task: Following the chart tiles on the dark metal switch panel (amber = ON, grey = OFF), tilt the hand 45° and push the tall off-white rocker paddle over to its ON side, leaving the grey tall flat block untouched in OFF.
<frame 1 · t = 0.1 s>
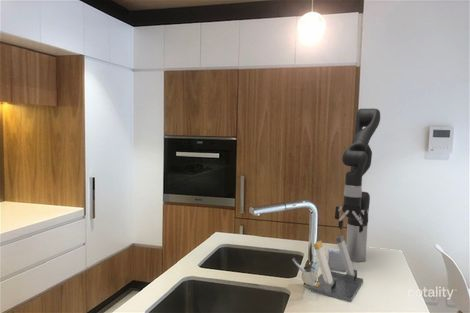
hand: (350, 230, 160), 17 cm above the worktop, tool pointing down, fingers open, 8 cm apart
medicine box: (336, 269, 160), on the worktop
white rocker: (324, 264, 138), point 10 cm above the worktop, hinge at -20.0°
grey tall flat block: (345, 257, 147), point 10 cm above the worktop, hinge at -20.0°
switch panel: (336, 286, 143), on the worktop
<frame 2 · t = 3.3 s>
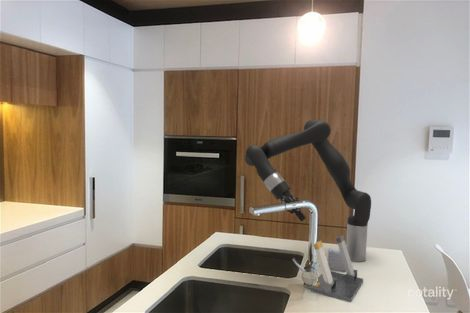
hand: (303, 219, 141), 27 cm above the worktop, tool tilted 45°, fingers closed
nothing on the worktop moved.
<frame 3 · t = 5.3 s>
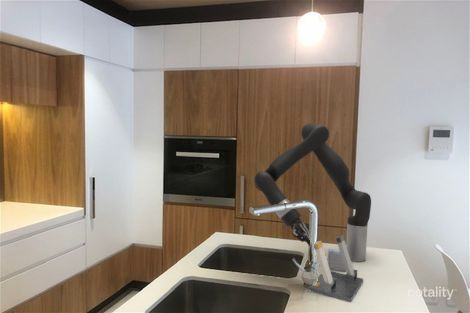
hand: (314, 247, 140), 16 cm above the worktop, tool tilted 45°, fingers closed
white rocker: (324, 264, 138), point 10 cm above the worktop, hinge at -20.0°, touching gripper
everything else where it was.
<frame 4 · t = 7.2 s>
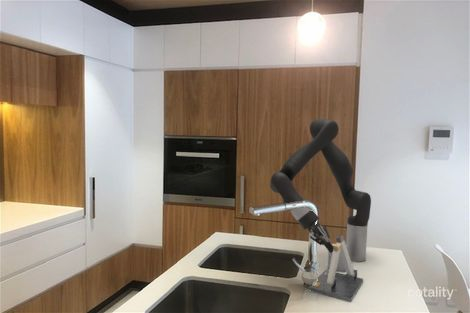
hand: (333, 251, 136), 16 cm above the worktop, tool tilted 45°, fingers closed
white rocker: (333, 266, 136), point 11 cm above the worktop, hinge at 8.1°, touching gripper
everything else where it was.
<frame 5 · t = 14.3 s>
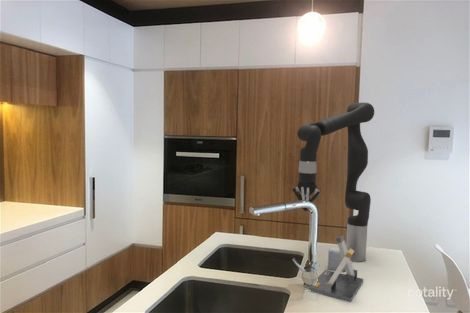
hand: (305, 210, 156), 27 cm above the worktop, tool pointing down, fingers closed
white rocker: (339, 269, 135), point 10 cm above the worktop, hinge at 26.4°
everything else where it was.
at the end: white rocker at +26° (first picture: -20°); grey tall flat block at -20° (first picture: -20°) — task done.
